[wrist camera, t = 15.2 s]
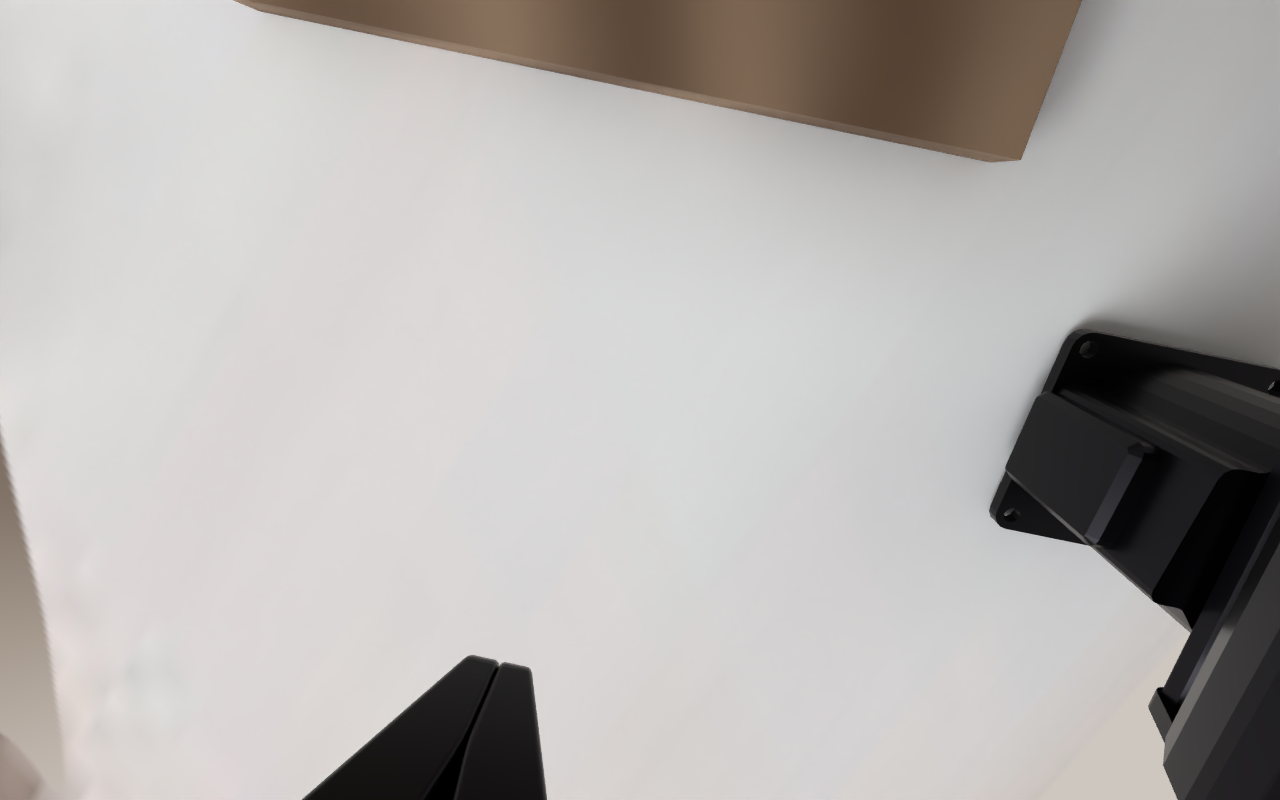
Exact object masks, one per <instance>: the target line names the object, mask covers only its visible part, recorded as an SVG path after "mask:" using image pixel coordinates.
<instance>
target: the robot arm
mask: <svg viewBox="0 0 1280 800" xmlns="http://www.w3.org/2000/svg"><path fill="white" fill-rule="evenodd" d="M1088 341H1089V342H1090V347H1089V349H1088V350H1087V351H1086V352H1085V353H1083V354H1080V348H1081V346H1082V345H1083V344H1084V343H1086V342H1088ZM1274 381H1275V383H1274V386H1273V387H1272V388H1271V389H1270V390H1268V388H1269V386H1270V385H1271V383H1272V382H1274ZM1010 508H1014V510H1013V512H1012V513H1011V514H1009V515H1007V516H1004V513H1005V512H1006V511H1007V510H1008V509H1010ZM989 512H990V516H991V517H992V518H993V519H994V520H995V521H996V522H997V523H998V524H999V526H1000V527H1003V528H1005V529H1010V530H1015V531H1020V532H1025V533H1029V534H1034V535H1039V536H1044V537H1049V538H1054V539H1059V540H1064V541H1069V542H1074V543H1079V544H1084V545H1089V546H1091V547H1092V548H1093V549H1094V550H1095V551H1096V552H1098V553H1099V554H1100V555H1101V556H1102V557H1103V558H1104V559H1106V560H1107V561H1108V562H1109V563H1110V564H1111V565H1112V566H1114V567H1115V568H1116V569H1117V570H1118V571H1119V572H1120V573H1121V574H1123V575H1124V576H1125V577H1126V578H1127V579H1128V580H1129V581H1131V582H1132V583H1133V584H1134V585H1135V586H1136V587H1137V588H1139V589H1140V590H1141V591H1142V592H1143V593H1144V594H1145V595H1147V596H1148V597H1149V598H1150V599H1151V600H1152V601H1153V602H1155V603H1157V604H1158V605H1159V606H1160V607H1161V608H1163V609H1164V610H1165V611H1166V612H1167V613H1168V614H1169V615H1171V616H1172V617H1173V618H1174V619H1175V620H1176V621H1177V622H1179V623H1180V624H1181V625H1182V626H1183V627H1184V628H1185V629H1187V630H1188V631H1189V632H1190V633H1191V634H1190V636H1189V638H1188V640H1187V642H1186V644H1185V646H1184V648H1183V650H1182V652H1181V654H1180V656H1179V658H1178V660H1177V662H1176V664H1175V666H1174V668H1173V670H1172V672H1171V674H1170V676H1169V678H1168V680H1167V682H1166V684H1165V686H1164V687H1160V688H1157V689H1156V691H1155V693H1154V695H1153V697H1152V699H1151V701H1150V704H1149V705H1148V706H1149V710H1150V712H1151V714H1152V716H1153V719H1154V721H1155V723H1156V725H1157V727H1158V729H1159V732H1160V734H1161V736H1162V738H1163V740H1164V742H1165V749H1164V761H1163V766H1164V768H1165V771H1166V773H1167V775H1168V778H1169V780H1170V782H1171V785H1172V787H1173V790H1174V792H1175V794H1176V796H1177V799H1178V800H1280V369H1277V368H1274V367H1269V366H1264V365H1259V364H1254V363H1249V362H1244V361H1239V360H1235V359H1230V358H1225V357H1220V356H1215V355H1210V354H1205V353H1200V352H1196V351H1191V350H1186V349H1181V348H1176V347H1171V346H1166V345H1161V344H1157V343H1152V342H1147V341H1142V340H1137V339H1132V338H1127V337H1122V336H1118V335H1113V334H1108V333H1103V332H1098V331H1093V330H1088V329H1081V330H1078V331H1075V332H1073V333H1072V334H1071V335H1069V336H1068V337H1067V339H1066V340H1065V341H1064V343H1063V345H1062V348H1061V350H1060V352H1059V354H1058V357H1057V359H1056V361H1055V363H1054V365H1053V368H1052V370H1051V372H1050V374H1049V377H1048V379H1047V381H1046V383H1045V385H1044V388H1043V390H1042V392H1041V394H1040V395H1039V396H1038V397H1037V398H1036V400H1035V402H1034V404H1033V406H1032V408H1031V411H1030V413H1029V415H1028V417H1027V420H1026V422H1025V424H1024V426H1023V429H1022V431H1021V433H1020V435H1019V437H1018V440H1017V442H1016V444H1015V446H1014V449H1013V451H1012V453H1011V455H1010V458H1009V460H1008V462H1007V464H1006V472H1005V474H1004V477H1003V479H1002V481H1001V483H1000V486H999V488H998V490H997V492H996V494H995V497H994V499H993V501H992V503H991V506H990V510H989ZM302 800H547V795H546V787H545V778H544V770H543V761H542V753H541V745H540V736H539V728H538V720H537V711H536V703H535V695H534V686H533V678H532V672H531V670H530V668H528V667H525V666H520V665H516V664H511V663H507V662H504V663H501V664H500V666H499V663H498V662H497V661H496V660H493V659H489V658H484V657H480V656H475V655H470V656H467V657H466V658H464V659H463V660H462V661H461V662H460V663H459V664H457V665H456V666H455V667H454V668H453V669H452V670H451V671H449V672H448V673H447V674H446V675H445V676H444V677H442V678H441V679H440V680H439V681H438V682H437V683H436V684H434V685H433V686H432V687H431V688H430V689H429V690H427V691H426V692H425V693H424V694H423V695H422V696H421V697H419V698H418V699H417V700H416V701H415V702H414V703H413V704H411V705H410V706H409V707H408V708H407V709H406V710H404V711H403V712H402V713H401V714H400V715H399V716H398V717H396V718H395V719H394V720H393V721H392V722H391V723H389V724H388V725H387V726H386V727H385V728H384V729H383V730H381V731H380V732H379V733H378V734H377V735H376V736H375V737H373V738H372V739H371V740H370V741H369V742H368V743H366V744H365V745H364V746H363V747H362V748H361V749H360V750H358V751H357V752H356V753H355V754H354V755H353V756H351V757H350V758H349V759H348V760H347V761H346V762H345V763H343V764H342V765H341V766H340V767H339V768H338V769H337V770H335V771H334V772H333V773H332V774H331V775H330V776H328V777H327V778H326V779H325V780H324V781H323V782H322V783H320V784H319V785H318V786H317V787H316V788H315V789H313V790H312V791H311V792H310V793H309V794H308V795H307V796H305V797H304V798H303V799H302Z"/></svg>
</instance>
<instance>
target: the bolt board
mask: <svg viewBox="0 0 1280 800" xmlns="http://www.w3.org/2000/svg"><path fill="white" fill-rule="evenodd" d="M234 1H236V2H239V3H241V4H244V5H246V6H249V7H251V8H253V9H256V10H258V11H261V12H266V13H271V14H276V15H280V16H285V17H290V18H295V19H300V20H305V21H309V22H314V23H319V24H324V25H329V26H334V27H338V28H343V29H348V30H353V31H358V32H363V33H367V34H372V35H377V36H382V37H387V38H392V39H397V40H401V41H406V42H411V43H416V44H421V45H426V46H430V47H435V48H440V49H445V50H450V51H455V52H459V53H464V54H469V55H474V56H479V57H484V58H488V59H493V60H498V61H503V62H508V63H513V64H518V65H522V66H527V67H532V68H537V69H542V70H547V71H551V72H556V73H561V74H566V75H571V76H576V77H580V78H585V79H590V80H595V81H600V82H605V83H609V84H614V85H619V86H624V87H629V88H634V89H639V90H643V91H648V92H653V93H658V94H663V95H668V96H672V97H677V98H682V99H687V100H692V101H697V102H701V103H706V104H711V105H716V106H721V107H726V108H730V109H735V110H740V111H745V112H750V113H755V114H760V115H764V116H769V117H774V118H779V119H784V120H789V121H793V122H798V123H803V124H808V125H813V126H818V127H822V128H827V129H832V130H837V131H842V132H847V133H851V134H856V135H861V136H866V137H871V138H876V139H881V140H885V141H890V142H895V143H900V144H905V145H910V146H914V147H919V148H924V149H929V150H934V151H939V152H943V153H948V154H953V155H958V156H963V157H968V158H972V159H977V160H982V161H987V162H1002V161H1015V160H1021V158H1022V155H1023V153H1024V150H1025V147H1026V145H1027V142H1028V140H1029V137H1030V134H1031V132H1032V129H1033V126H1034V124H1035V121H1036V119H1037V116H1038V113H1039V111H1040V108H1041V106H1042V103H1043V100H1044V98H1045V95H1046V92H1047V90H1048V87H1049V85H1050V82H1051V79H1052V77H1053V74H1054V72H1055V69H1056V66H1057V64H1058V61H1059V59H1060V56H1061V53H1062V51H1063V48H1064V45H1065V43H1066V40H1067V38H1068V35H1069V32H1070V30H1071V27H1072V25H1073V22H1074V19H1075V17H1076V14H1077V11H1078V9H1079V6H1080V4H1081V1H1082V0H234Z"/></svg>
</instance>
